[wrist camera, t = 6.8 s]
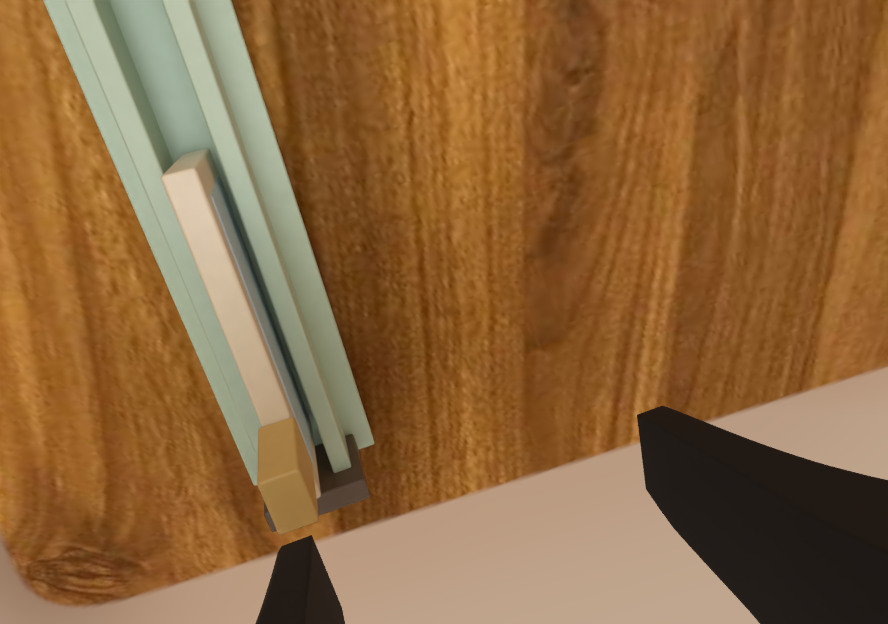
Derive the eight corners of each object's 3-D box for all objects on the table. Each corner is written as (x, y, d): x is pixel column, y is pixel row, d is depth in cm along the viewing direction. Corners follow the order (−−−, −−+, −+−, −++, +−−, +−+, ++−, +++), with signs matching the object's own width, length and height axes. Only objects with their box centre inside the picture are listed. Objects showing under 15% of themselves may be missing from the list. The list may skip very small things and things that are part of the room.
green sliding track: (370, 427, 24) (389, 491, 20) (254, 467, 23) (252, 541, 19) (140, -282, 15) (101, -391, 12) (-53, -253, 15) (-158, -358, 11)
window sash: (315, 425, 21) (334, 558, 16) (286, 434, 21) (294, 574, 15) (213, 146, 18) (187, 184, 12) (176, 155, 17) (132, 198, 12)
